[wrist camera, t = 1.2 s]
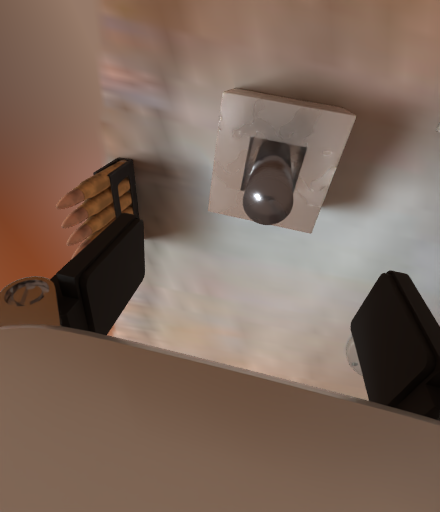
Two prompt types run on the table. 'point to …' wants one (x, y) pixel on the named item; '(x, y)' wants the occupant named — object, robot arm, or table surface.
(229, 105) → the block
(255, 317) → the table surface
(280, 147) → the pin
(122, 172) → the ammunition clip
